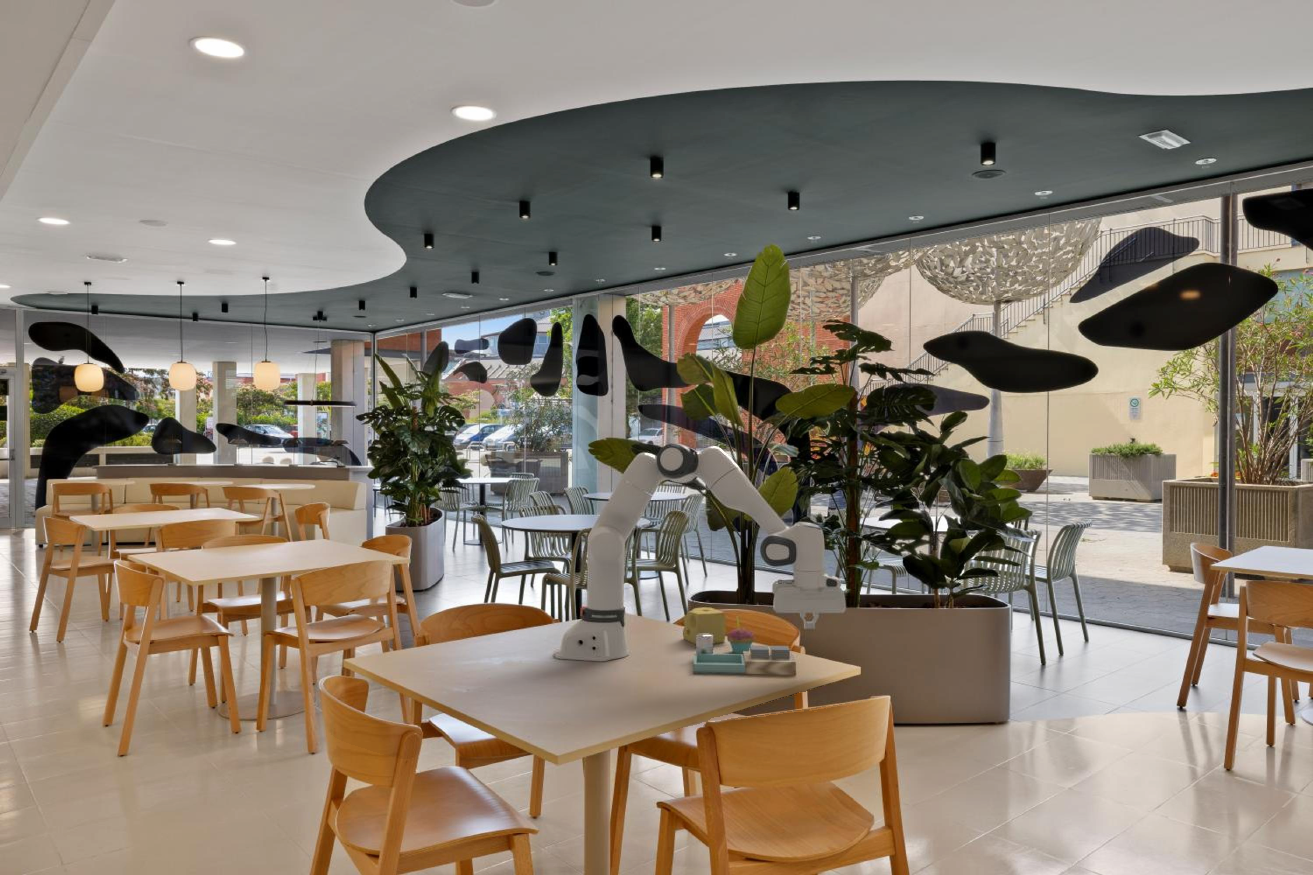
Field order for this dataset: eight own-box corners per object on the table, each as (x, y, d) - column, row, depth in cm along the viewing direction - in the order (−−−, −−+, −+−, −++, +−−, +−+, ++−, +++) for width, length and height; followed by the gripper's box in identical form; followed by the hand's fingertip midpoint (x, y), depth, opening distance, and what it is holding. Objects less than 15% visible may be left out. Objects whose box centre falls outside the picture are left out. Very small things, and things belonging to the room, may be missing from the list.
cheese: (682, 639, 296) (682, 608, 296) (711, 636, 300) (711, 606, 300) (697, 645, 286) (697, 614, 286) (727, 642, 291) (727, 611, 291)
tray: (694, 672, 252) (694, 663, 252) (694, 662, 265) (694, 653, 265) (745, 673, 251) (745, 664, 251) (743, 662, 264) (743, 654, 264)
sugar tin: (696, 660, 267) (696, 636, 267) (696, 656, 272) (696, 633, 272) (713, 660, 267) (713, 636, 267) (713, 656, 272) (713, 633, 272)
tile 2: (771, 658, 255) (771, 649, 255) (770, 654, 260) (770, 645, 260) (789, 658, 255) (789, 649, 255) (787, 654, 260) (788, 645, 260)
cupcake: (745, 656, 272) (745, 616, 272) (721, 652, 277) (721, 613, 277) (759, 651, 278) (759, 612, 279) (736, 647, 284) (736, 609, 284)
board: (745, 673, 252) (745, 661, 252) (743, 663, 264) (743, 651, 264) (795, 674, 251) (795, 661, 251) (791, 663, 263) (791, 651, 263)
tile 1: (751, 658, 255) (751, 649, 255) (750, 653, 260) (750, 645, 260) (768, 658, 255) (768, 649, 255) (767, 654, 260) (767, 645, 260)
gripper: (773, 581, 254) (773, 630, 254) (846, 581, 253) (847, 630, 253) (771, 577, 261) (771, 625, 261) (843, 577, 260) (843, 626, 260)
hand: (809, 628), depth 257 cm, fingers closed
